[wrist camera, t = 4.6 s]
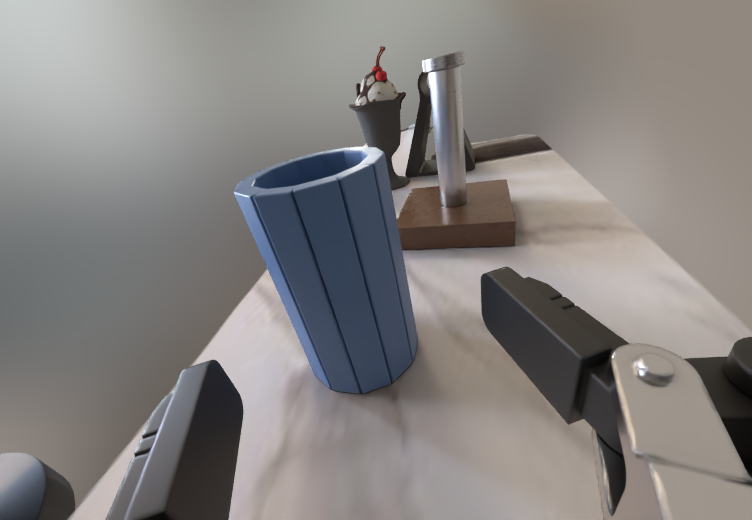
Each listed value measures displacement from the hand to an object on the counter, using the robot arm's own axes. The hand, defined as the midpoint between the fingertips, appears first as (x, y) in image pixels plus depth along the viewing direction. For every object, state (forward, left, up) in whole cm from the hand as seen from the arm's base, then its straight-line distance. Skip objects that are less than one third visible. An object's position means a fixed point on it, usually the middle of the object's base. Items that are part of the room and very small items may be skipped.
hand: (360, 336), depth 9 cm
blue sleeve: (-3, +5, -6) cm, 8 cm away
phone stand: (-2, +38, -6) cm, 38 cm away
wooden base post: (+1, +20, -6) cm, 21 cm away
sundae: (-8, +33, -6) cm, 34 cm away
